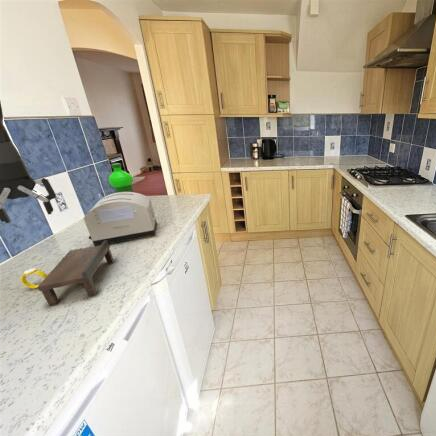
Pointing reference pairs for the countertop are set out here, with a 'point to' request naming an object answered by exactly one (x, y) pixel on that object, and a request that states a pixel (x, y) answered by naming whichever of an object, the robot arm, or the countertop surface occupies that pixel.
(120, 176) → the plastic bottle
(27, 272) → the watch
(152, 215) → the toaster
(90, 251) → the small brown table
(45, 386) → the countertop surface
